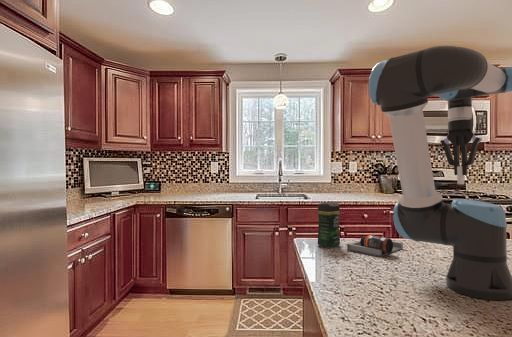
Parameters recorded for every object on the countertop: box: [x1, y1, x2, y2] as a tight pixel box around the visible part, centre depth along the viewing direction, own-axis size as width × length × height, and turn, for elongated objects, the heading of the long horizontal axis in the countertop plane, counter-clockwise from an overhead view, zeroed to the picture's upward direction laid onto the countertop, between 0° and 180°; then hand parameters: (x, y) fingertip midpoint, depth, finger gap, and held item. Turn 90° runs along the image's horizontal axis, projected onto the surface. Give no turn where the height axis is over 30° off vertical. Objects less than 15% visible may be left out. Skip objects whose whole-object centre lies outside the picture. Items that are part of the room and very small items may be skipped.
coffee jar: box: [317, 201, 341, 249], centre depth 136 cm, size 10×8×19 cm
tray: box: [346, 240, 404, 258], centre depth 128 cm, size 18×14×2 cm
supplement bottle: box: [359, 234, 393, 255], centre depth 123 cm, size 6×6×11 cm
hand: (460, 184), depth 118 cm, fingers closed
